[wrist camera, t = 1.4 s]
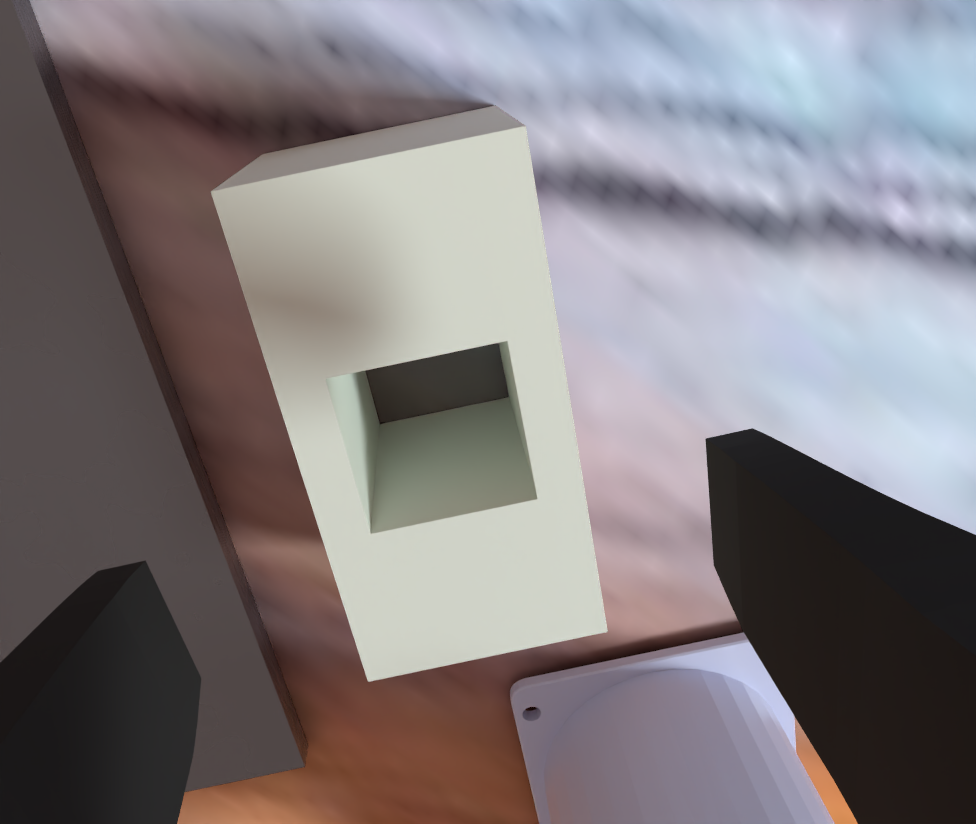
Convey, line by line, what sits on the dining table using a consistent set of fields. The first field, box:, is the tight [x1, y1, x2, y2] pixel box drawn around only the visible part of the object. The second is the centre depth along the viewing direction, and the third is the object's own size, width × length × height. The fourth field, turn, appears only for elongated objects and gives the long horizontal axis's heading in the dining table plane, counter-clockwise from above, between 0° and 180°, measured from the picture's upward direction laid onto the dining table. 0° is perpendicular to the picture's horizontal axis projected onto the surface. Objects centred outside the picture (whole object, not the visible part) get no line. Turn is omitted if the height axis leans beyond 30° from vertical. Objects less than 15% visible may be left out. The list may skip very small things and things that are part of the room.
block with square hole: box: [211, 105, 608, 682], centre depth 17 cm, size 10×5×5 cm, turn 11°
